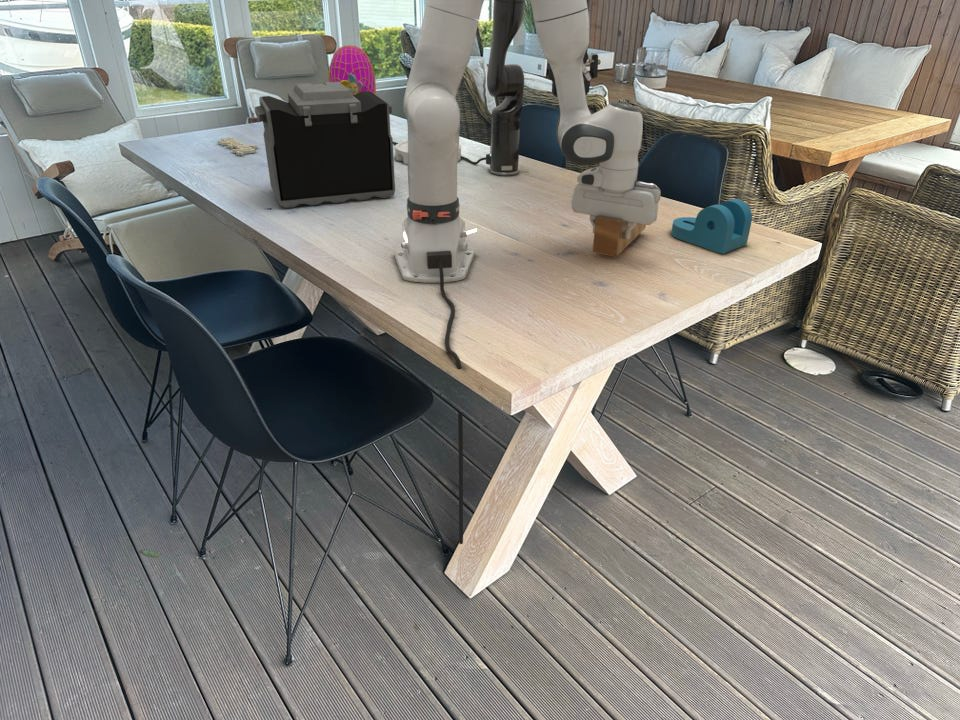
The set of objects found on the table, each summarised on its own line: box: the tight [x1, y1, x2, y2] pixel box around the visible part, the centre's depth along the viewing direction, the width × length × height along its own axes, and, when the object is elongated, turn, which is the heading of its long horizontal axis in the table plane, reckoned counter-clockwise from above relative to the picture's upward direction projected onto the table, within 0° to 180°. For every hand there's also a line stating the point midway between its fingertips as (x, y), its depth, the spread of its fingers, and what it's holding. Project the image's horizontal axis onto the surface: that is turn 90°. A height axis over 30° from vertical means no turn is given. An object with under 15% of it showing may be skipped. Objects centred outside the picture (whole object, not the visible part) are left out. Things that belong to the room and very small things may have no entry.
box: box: [592, 215, 647, 258], centre depth 169 cm, size 22×6×9 cm, turn 151°
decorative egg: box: [328, 44, 377, 96], centre depth 286 cm, size 19×19×30 cm
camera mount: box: [670, 198, 753, 255], centre depth 173 cm, size 18×10×10 cm, turn 39°
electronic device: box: [254, 81, 396, 209], centre depth 199 cm, size 37×22×30 cm, turn 111°
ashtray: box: [394, 139, 462, 165], centre depth 243 cm, size 23×23×4 cm
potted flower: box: [340, 73, 363, 96], centre depth 255 cm, size 9×8×25 cm
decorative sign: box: [217, 136, 259, 156], centre depth 254 cm, size 26×1×10 cm
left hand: (610, 235), depth 164 cm, fingers closed on box, 6 cm apart
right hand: (570, 95), depth 188 cm, fingers open, 8 cm apart
